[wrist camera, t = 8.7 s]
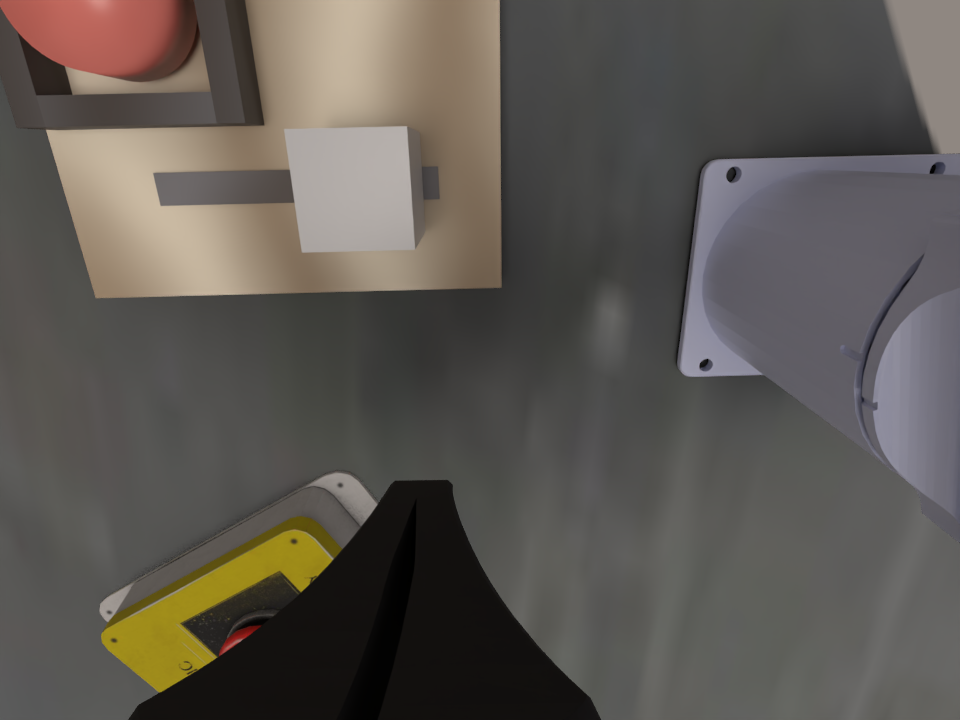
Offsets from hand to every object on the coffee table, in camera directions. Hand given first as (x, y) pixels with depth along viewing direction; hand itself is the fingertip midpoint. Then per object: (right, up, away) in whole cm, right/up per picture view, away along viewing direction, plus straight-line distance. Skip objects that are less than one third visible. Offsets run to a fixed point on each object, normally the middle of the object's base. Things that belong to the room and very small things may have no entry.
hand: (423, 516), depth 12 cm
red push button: (-9, +14, +2) cm, 16 cm away
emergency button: (-8, -8, +14) cm, 18 cm away
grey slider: (-2, +9, +4) cm, 10 cm away
